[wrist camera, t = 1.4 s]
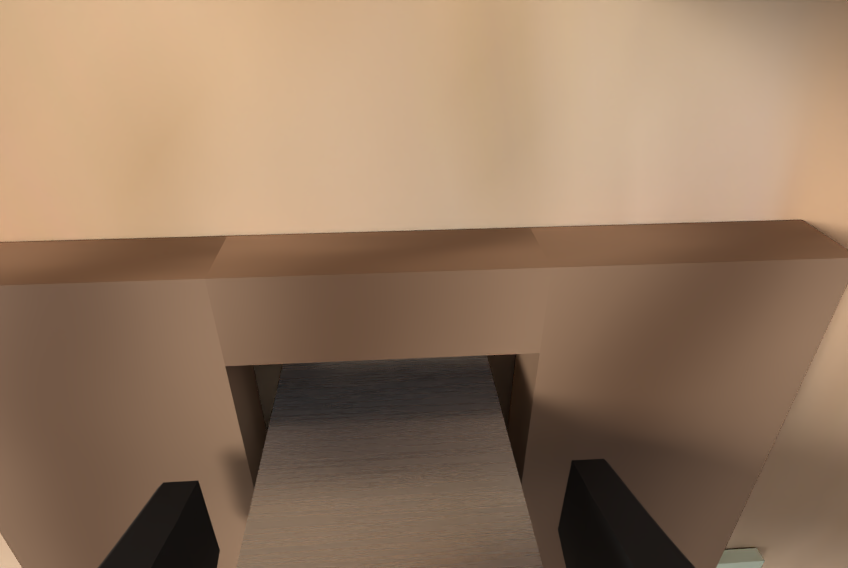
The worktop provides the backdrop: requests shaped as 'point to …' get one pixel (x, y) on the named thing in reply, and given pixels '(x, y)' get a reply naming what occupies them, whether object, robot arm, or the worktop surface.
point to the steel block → (388, 470)
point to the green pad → (741, 559)
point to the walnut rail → (403, 339)
